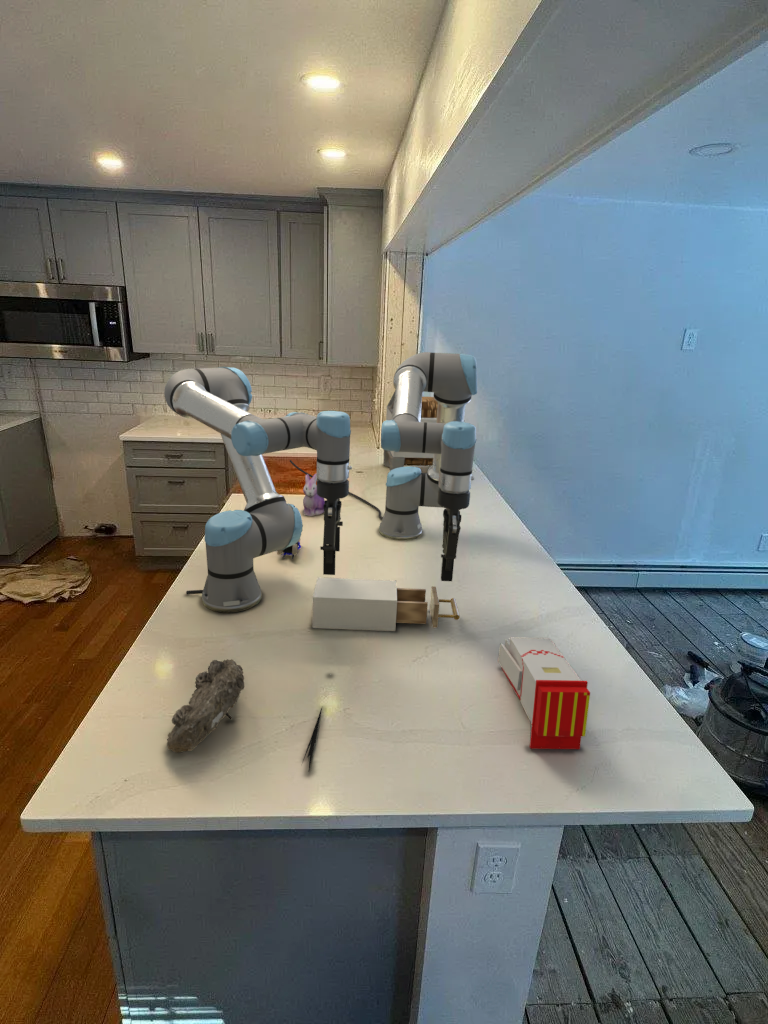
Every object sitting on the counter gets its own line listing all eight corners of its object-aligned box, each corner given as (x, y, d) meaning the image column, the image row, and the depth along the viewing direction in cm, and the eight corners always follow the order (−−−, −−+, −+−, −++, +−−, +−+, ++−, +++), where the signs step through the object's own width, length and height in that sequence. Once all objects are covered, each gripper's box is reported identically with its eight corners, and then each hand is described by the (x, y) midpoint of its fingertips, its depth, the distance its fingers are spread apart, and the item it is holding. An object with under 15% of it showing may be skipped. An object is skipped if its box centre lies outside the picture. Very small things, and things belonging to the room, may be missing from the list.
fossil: (192, 660, 117) (244, 628, 112) (224, 691, 120) (276, 661, 115) (142, 746, 98) (202, 712, 93) (182, 779, 101) (242, 748, 96)
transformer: (382, 463, 289) (386, 382, 275) (445, 464, 293) (451, 384, 279) (390, 482, 257) (394, 392, 243) (460, 483, 261) (468, 394, 247)
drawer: (454, 609, 149) (456, 587, 147) (459, 628, 140) (461, 605, 138) (361, 605, 149) (362, 583, 147) (360, 624, 140) (361, 601, 138)
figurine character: (298, 566, 175) (304, 542, 188) (297, 544, 171) (303, 521, 185) (276, 565, 174) (283, 541, 188) (275, 544, 171) (282, 521, 184)
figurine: (306, 518, 210) (306, 479, 205) (297, 509, 219) (297, 471, 214) (330, 515, 214) (330, 476, 209) (320, 506, 223) (320, 469, 218)
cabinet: (394, 609, 150) (396, 580, 147) (395, 631, 140) (397, 600, 137) (317, 606, 150) (317, 577, 147) (312, 628, 139) (312, 597, 136)
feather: (331, 679, 122) (336, 673, 122) (307, 777, 96) (313, 769, 95) (324, 675, 122) (329, 669, 121) (298, 772, 95) (304, 764, 95)
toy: (546, 620, 128) (599, 688, 99) (541, 675, 131) (591, 756, 102) (493, 619, 128) (531, 687, 99) (489, 674, 131) (524, 755, 101)
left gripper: (345, 496, 120) (343, 585, 127) (352, 465, 144) (350, 542, 151) (310, 494, 120) (310, 584, 127) (322, 464, 144) (321, 541, 151)
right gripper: (474, 498, 127) (464, 592, 135) (466, 481, 139) (458, 569, 147) (441, 497, 127) (433, 591, 135) (436, 480, 139) (429, 567, 147)
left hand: (331, 562), depth 139 cm, fingers open, 13 cm apart
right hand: (446, 579), depth 141 cm, fingers closed
